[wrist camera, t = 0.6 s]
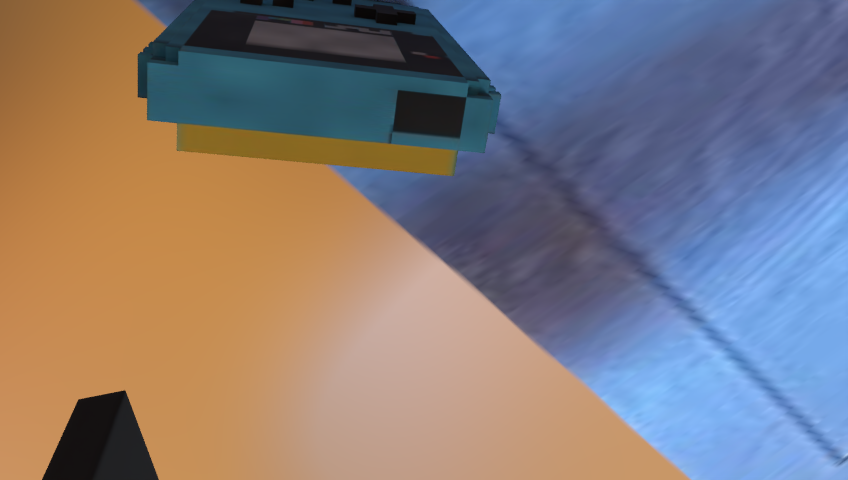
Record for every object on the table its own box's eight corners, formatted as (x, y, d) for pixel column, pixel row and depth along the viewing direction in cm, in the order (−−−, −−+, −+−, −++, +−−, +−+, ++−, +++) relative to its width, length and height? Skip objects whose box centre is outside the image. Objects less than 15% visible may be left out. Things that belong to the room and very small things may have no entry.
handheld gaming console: (435, -1, 35) (512, 74, 21) (422, 92, 37) (486, 216, 23) (205, -31, 33) (131, 30, 20) (202, 68, 35) (132, 186, 21)
